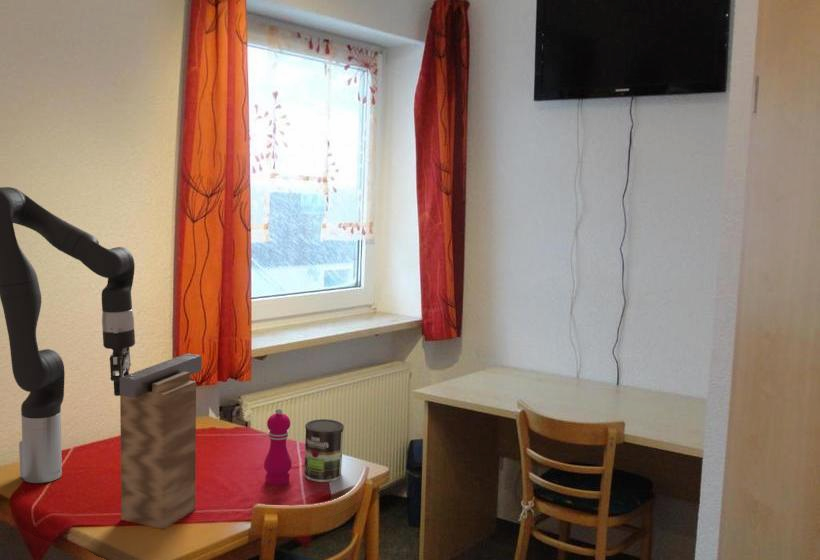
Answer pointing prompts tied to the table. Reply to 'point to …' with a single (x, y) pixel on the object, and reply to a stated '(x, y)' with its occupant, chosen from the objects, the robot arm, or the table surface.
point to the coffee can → (323, 450)
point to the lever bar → (158, 374)
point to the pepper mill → (277, 450)
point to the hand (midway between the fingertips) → (122, 390)
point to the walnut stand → (159, 453)
